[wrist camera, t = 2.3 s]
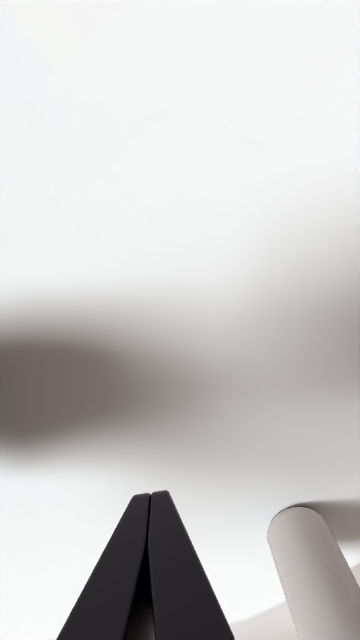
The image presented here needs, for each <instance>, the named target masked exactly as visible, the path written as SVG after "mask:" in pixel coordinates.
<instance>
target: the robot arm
mask: <svg viewBox="0 0 360 640" xmlns="http://www.w3.org/2000/svg"><path fill="white" fill-rule="evenodd" d="M56 640H235V639H234V635H233V633H232V631H231V629H230V627H229V624H228V622H227V620H226V618H225V615H224V613H223V611H222V609H221V607H220V604H219V602H218V600H217V598H216V595H215V593H214V591H213V589H212V587H211V584H210V582H209V580H208V578H207V576H206V573H205V571H204V569H203V567H202V564H201V562H200V560H199V558H198V556H197V553H196V551H195V549H194V547H193V544H192V542H191V540H190V538H189V536H188V533H187V531H186V529H185V527H184V524H183V522H182V520H181V518H180V516H179V513H178V511H177V509H176V507H175V504H174V502H173V500H172V498H171V496H170V493H169V492H168V491H167V490H164V491H157V492H153V493H152V494H150V493H144V494H137V495H134V496H133V497H132V499H131V501H130V502H129V504H128V506H127V508H126V510H125V512H124V514H123V516H122V517H121V519H120V521H119V523H118V525H117V527H116V529H115V531H114V532H113V534H112V536H111V538H110V540H109V542H108V544H107V546H106V547H105V549H104V551H103V553H102V555H101V557H100V559H99V561H98V562H97V564H96V566H95V568H94V570H93V572H92V574H91V576H90V577H89V579H88V581H87V583H86V585H85V587H84V589H83V591H82V592H81V594H80V596H79V598H78V600H77V602H76V604H75V606H74V607H73V609H72V611H71V613H70V615H69V617H68V619H67V621H66V622H65V624H64V626H63V628H62V630H61V632H60V634H59V636H58V637H57V639H56Z"/></svg>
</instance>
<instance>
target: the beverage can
mask: <svg viewBox="0 0 360 640" xmlns="http://www.w3.org/2000/svg"><path fill="white" fill-rule="evenodd" d="M267 540H268V543H269V547H270V550H271V553H272V556H273V559H274V562H275V566H276V569H277V572H278V575H279V578H280V582H281V585H282V588H283V591H284V594H285V597H286V601H287V604H288V607H289V610H290V613H291V616H292V619H293V623H294V626H295V629H296V632H297V635H298V639H299V640H360V587H359V585H358V584H357V582H356V580H355V578H354V576H353V574H352V572H351V570H350V568H349V566H348V564H347V562H346V560H345V558H344V556H343V554H342V552H341V550H340V548H339V546H338V544H337V542H336V540H335V538H334V536H333V534H332V533H331V531H330V529H329V527H328V525H327V523H326V521H325V519H324V518H323V517H322V515H320V514H319V513H317V512H316V511H314V510H312V509H309V508H306V507H292V508H288V509H285V510H283V511H281V512H280V513H278V514H277V515H276V516H275V517H274V518H273V519H272V521H271V523H270V525H269V528H268V530H267Z"/></svg>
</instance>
